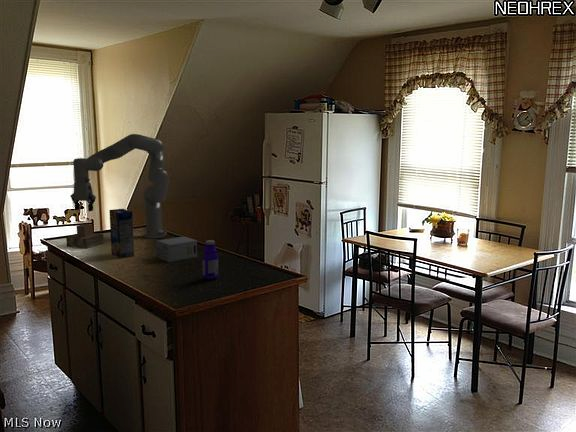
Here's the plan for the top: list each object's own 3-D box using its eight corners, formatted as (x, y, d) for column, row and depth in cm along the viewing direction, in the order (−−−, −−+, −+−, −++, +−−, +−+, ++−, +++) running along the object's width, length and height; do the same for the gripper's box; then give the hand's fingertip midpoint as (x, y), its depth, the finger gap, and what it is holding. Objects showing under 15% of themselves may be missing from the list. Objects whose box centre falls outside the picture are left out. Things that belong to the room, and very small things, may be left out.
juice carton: (111, 254, 279) (109, 209, 275) (125, 252, 283) (122, 208, 279) (120, 258, 270) (118, 212, 266) (134, 256, 274) (132, 211, 270)
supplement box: (169, 262, 264) (168, 244, 262) (156, 257, 273) (155, 240, 271) (197, 257, 275) (197, 239, 273) (184, 252, 284) (183, 235, 283)
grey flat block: (103, 244, 303) (103, 234, 302) (86, 249, 291) (86, 238, 289) (84, 242, 308) (83, 232, 307) (66, 247, 295) (66, 236, 294)
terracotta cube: (93, 235, 300) (92, 224, 299) (85, 237, 294) (84, 226, 293) (85, 234, 302) (84, 223, 301) (77, 236, 297) (76, 225, 296)
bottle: (212, 275, 241) (211, 238, 238) (220, 278, 237) (220, 240, 234) (200, 279, 235) (199, 241, 232) (208, 281, 232) (208, 243, 229)
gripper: (98, 180, 293) (100, 210, 296) (74, 179, 300) (77, 208, 303) (89, 181, 286) (91, 212, 289) (64, 180, 293) (67, 210, 296)
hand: (84, 210), depth 296 cm, fingers open, 9 cm apart
